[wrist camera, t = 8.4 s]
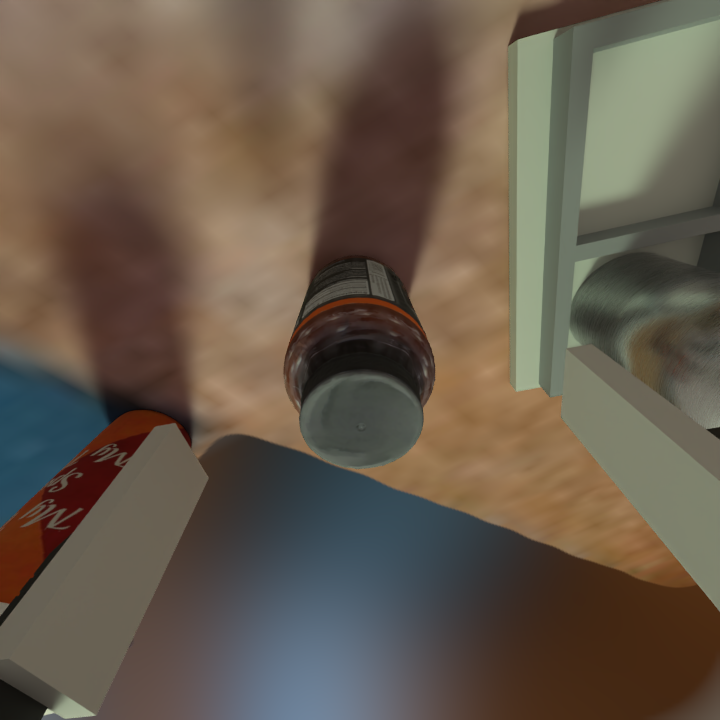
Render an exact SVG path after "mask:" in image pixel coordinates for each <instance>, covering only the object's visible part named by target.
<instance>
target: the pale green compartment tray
mask: <svg viewBox="0 0 720 720" xmlns="http://www.w3.org/2000/svg"><path fill="white" fill-rule="evenodd" d="M508 113H509V289H510V384H511V385H512V387H513V388H514V390H515V391H516V392H517V391H523V390H528V389H533V388H539V387H542V388H543V390H544V391H545V392H546V393H547V394H548V396H549V397H554V396H560V395H563V381H564V368H565V355H566V349H567V348H572V347H577V346H582V345H581V344H580V343H579V342H577V341H576V340H575V338H574V337H573V335H572V334H571V331H570V328H569V324H570V312H571V302H572V300H573V298H574V296H575V294H576V292H577V290H578V289H579V287H580V286H581V285H582V283H583V282H584V281H585V280H586V279H587V278H588V277H589V276H590V275H591V274H592V273H593V272H594V271H595V270H597V269H598V268H599V267H601V266H602V265H604V264H605V263H607V262H609V261H611V260H613V259H614V258H617V257H620V256H622V255H626V254H629V253H635V252H650V253H654V254H658V255H661V256H665V257H668V258H671V259H674V260H678V261H681V262H684V263H688V264H691V265H694V266H697V267H701V268H704V269H707V270H711V271H714V272H717V273H720V0H661V1H657V2H654V3H650V4H646V5H643V6H639V7H635V8H632V9H628V10H624V11H621V12H617V13H613V14H610V15H606V16H602V17H599V18H595V19H591V20H588V21H584V22H580V23H576V24H573V25H569V26H565V27H562V28H558V29H554V30H551V31H547V32H543V33H540V34H536V35H532V36H529V37H525V38H521V39H518V40H516V41H515V42H514V43H512V44H511V45H509V46H508Z"/></svg>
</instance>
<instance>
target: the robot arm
mask: <svg viewBox="0 0 720 720" xmlns="http://www.w3.org/2000/svg"><path fill="white" fill-rule="evenodd" d="M561 418H562V419H563V421H564V422H565V423H566V424H567V426H568V427H569V428H570V429H571V430H572V432H573V433H574V434H575V435H576V436H577V438H578V439H579V440H580V441H581V443H582V444H583V445H584V446H585V447H586V449H587V450H588V451H589V452H590V454H591V455H592V456H593V457H594V458H595V460H596V461H597V462H598V463H599V465H600V466H601V467H602V468H603V469H604V471H605V472H606V473H607V474H608V476H609V477H610V478H611V479H612V480H613V482H614V483H615V484H616V485H617V486H618V488H619V489H620V490H621V491H622V493H623V494H624V495H625V496H626V497H627V499H628V500H629V501H630V502H631V504H632V505H633V506H634V507H635V508H636V510H637V511H638V512H639V513H640V515H641V516H642V517H643V518H644V519H645V521H646V522H647V523H648V524H649V525H650V527H651V528H652V529H653V530H654V532H655V533H656V534H657V535H658V536H659V538H660V539H661V540H662V541H663V543H664V544H665V545H666V546H667V547H668V549H669V550H670V551H671V552H672V554H673V555H674V556H675V557H676V558H677V560H678V561H679V562H680V563H681V565H682V566H683V567H684V568H685V569H686V571H687V572H688V573H689V574H690V575H691V577H692V578H693V579H694V580H695V582H696V583H697V584H698V585H699V586H700V588H701V589H702V590H703V591H704V592H705V594H706V595H707V596H708V597H709V599H710V600H711V601H712V602H713V603H714V605H715V606H716V607H717V608H718V610H719V611H720V427H716V428H710V429H705V428H703V427H702V426H701V425H699V424H698V423H697V422H695V421H694V420H693V419H691V418H690V417H689V416H687V415H686V414H685V413H683V412H682V411H681V410H679V409H678V408H677V407H675V406H674V405H673V404H671V403H670V402H669V401H667V400H666V399H665V398H663V397H662V396H661V395H659V394H658V393H657V392H655V391H654V390H653V389H651V388H650V387H649V386H647V385H646V384H645V383H643V382H642V381H641V380H639V379H638V378H637V377H635V376H634V375H633V374H631V373H630V372H629V371H627V370H626V369H625V368H623V367H622V366H621V365H619V364H618V363H617V362H615V361H614V360H613V359H611V358H610V357H609V356H607V355H606V354H604V353H603V352H602V351H600V350H599V349H598V348H596V347H595V346H594V345H592V344H588V345H582V346H577V347H572V348H567V349H566V355H565V368H564V381H563V395H562V408H561ZM207 480H208V477H207V474H206V473H205V471H204V470H203V468H202V466H201V465H200V463H199V461H198V460H197V458H196V456H195V455H194V453H193V451H192V450H191V448H190V446H189V445H188V443H187V441H186V440H185V438H184V437H183V435H182V433H181V432H180V430H179V428H178V427H177V425H176V423H172V424H167V425H161V426H156V427H154V429H153V430H152V431H151V432H150V434H149V435H148V436H147V438H146V439H145V440H144V441H143V443H142V444H141V445H140V447H139V448H138V449H137V450H136V452H135V453H134V454H133V456H132V457H131V458H130V460H129V461H128V462H127V463H126V465H125V466H124V467H123V469H122V470H121V471H120V472H119V474H118V475H117V476H116V478H115V479H114V480H113V482H112V483H111V484H110V485H109V487H108V488H107V489H106V491H105V492H104V493H103V494H102V496H101V497H100V498H99V500H98V501H97V502H96V504H95V505H94V506H93V507H92V509H91V510H90V511H89V513H88V514H87V515H86V516H85V518H84V519H83V520H82V522H81V523H80V524H79V526H78V527H77V528H76V529H75V531H74V532H73V533H72V534H70V535H69V536H68V537H67V538H66V539H65V540H64V541H63V542H62V543H60V544H59V545H58V546H57V547H56V548H55V549H54V550H53V551H52V552H51V553H50V554H49V555H48V556H47V558H46V559H45V560H44V561H43V563H42V564H41V565H40V566H39V568H38V569H37V570H36V571H35V573H34V577H33V578H30V579H29V580H28V582H27V583H26V584H25V585H24V587H23V588H22V589H21V590H20V594H19V596H16V597H15V598H14V599H13V600H12V602H11V603H10V604H9V606H8V607H7V608H6V609H5V611H4V612H3V613H2V614H1V616H0V720H41V719H42V717H43V715H44V714H45V712H46V710H47V709H49V710H51V711H53V712H54V713H56V714H58V715H59V716H61V717H63V718H64V719H68V718H77V717H87V716H95V715H97V713H98V711H99V709H100V706H101V705H102V703H103V700H104V698H105V696H106V694H107V692H108V690H109V688H110V685H111V683H112V681H113V679H114V677H115V675H116V673H117V671H118V669H119V667H120V664H121V662H122V660H123V658H124V656H125V654H126V652H127V650H128V648H129V645H130V643H131V641H132V639H133V637H134V635H135V633H136V631H137V628H138V626H139V624H140V622H141V620H142V618H143V615H144V614H145V611H146V609H147V607H148V605H149V603H150V601H151V599H152V597H153V595H154V593H155V590H156V588H157V586H158V584H159V582H160V580H161V578H162V576H163V573H164V571H165V569H166V567H167V565H168V563H169V561H170V559H171V557H172V554H173V552H174V550H175V548H176V546H177V544H178V542H179V540H180V538H181V535H182V533H183V531H184V529H185V527H186V525H187V523H188V521H189V518H190V516H191V514H192V512H193V510H194V508H195V506H196V504H197V501H198V499H199V497H200V495H201V493H202V491H203V489H204V486H205V485H206V483H207Z"/></svg>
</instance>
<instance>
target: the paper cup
mask: <svg viewBox="0 0 720 720" xmlns="http://www.w3.org/2000/svg"><path fill="white" fill-rule="evenodd" d="M172 423H176V425H177V427H178V428H179V430H180V432H181V433H182V435H183V437H184V438H185V440H186V441H187V443H188V445H189V446H190V448H191V439H190V436H189V434H188V433H187V431H186V430H185V428H184V427H183V426H182V425H181V424H180V423H179V422H177V421H176V420H174V419H173V418H171V417H169V416H167V415H165V414H163V413H160V412H156V411H152V410H133V411H129V412H127V413H124V414H123V415H121V416H120V417H118V418H117V419H116V420H115V421H114V422H112V423H111V424H110V425H109V426H108V427H107V428H106V429H105V430H103V431H102V432H101V433H100V434H99V435H98V436H97V437H96V438H95V439H94V440H93V441H92V442H91V443H90V444H88V445H87V446H86V447H85V448H84V449H83V450H82V451H81V452H80V453H79V454H78V455H77V456H76V457H75V458H74V459H73V460H72V461H70V462H69V463H68V464H67V465H66V466H65V467H64V468H63V469H62V470H61V471H60V472H59V473H58V474H57V475H56V476H55V477H54V478H53V479H52V480H50V481H49V482H48V483H47V484H46V485H45V486H44V487H43V488H42V489H41V490H40V491H39V492H38V493H37V494H36V495H35V496H34V497H33V498H32V499H31V500H29V501H28V502H27V503H26V504H25V505H24V506H23V507H22V508H21V509H20V510H19V511H18V512H17V513H16V514H15V515H14V516H13V517H12V518H11V519H10V520H9V521H7V522H6V523H5V524H4V525H3V526H2V527H1V528H0V616H1V614H2V613H3V612H4V611H5V609H6V608H7V607H8V606H9V604H10V603H11V602H12V600H13V599H14V598H15V597H16V596H19V594H20V590H21V589H22V588H23V587H24V585H25V584H26V583H27V582H28V580H29V579H30V578H33V577H34V573H35V571H36V570H37V569H38V568H39V566H40V565H41V564H42V563H43V561H44V560H45V559H46V558H47V556H48V555H49V554H50V553H51V552H52V551H53V550H54V549H55V548H56V547H57V546H58V545H59V544H60V543H62V542H63V541H64V540H65V539H66V538H67V537H68V536H69V535H70V534H72V533H73V532H74V531H75V529H76V528H77V527H78V526H79V524H80V523H81V522H82V520H83V519H84V518H85V516H86V515H87V514H88V513H89V511H90V510H91V509H92V507H93V506H94V505H95V504H96V502H97V501H98V500H99V498H100V497H101V496H102V494H103V493H104V492H105V491H106V489H107V488H108V487H109V485H110V484H111V483H112V482H113V480H114V479H115V478H116V476H117V475H118V474H119V472H120V471H121V470H122V469H123V467H124V466H125V465H126V463H127V462H128V461H129V460H130V458H131V457H132V456H133V454H134V453H135V452H136V450H137V449H138V448H139V447H140V445H141V444H142V443H143V441H144V440H145V439H146V438H147V436H148V435H149V434H150V432H151V431H152V430H153V429H154V427H156V426H161V425H167V424H172ZM51 713H54V712H53V711H51V710H49V709H47V710H46V712H45V714H44V715H47V714H51Z"/></svg>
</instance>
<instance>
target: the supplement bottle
mask: <svg viewBox="0 0 720 720" xmlns="http://www.w3.org/2000/svg"><path fill="white" fill-rule="evenodd" d="M434 381H435V363H434V356H433V354H432V349H431V347H430V344H429V342H428V340H427V337H426V334H425V332H424V330H423V328H422V326H421V323H420V321H419V319H418V317H417V315H416V313H415V310H414V308H413V306H412V304H411V301H410V299H409V297H408V294H407V292H406V289H405V288H404V286H403V284H402V282H401V281H400V279H399V277H398V276H397V275H396V274H395V273H394V272H393V270H392V269H391V268H389V267H388V266H387V265H385V264H384V263H382V262H380V261H378V260H375V259H373V258H369V257H365V256H348V257H343V258H340V259H337V260H335V261H333V262H331V263H330V264H328V265H326V266H325V267H324V268H323V269H322V270H321V271H319V272H318V273H317V275H316V276H315V278H314V279H313V281H312V283H311V285H310V286H309V288H308V290H307V293H306V296H305V299H304V302H303V305H302V308H301V310H300V313H299V316H298V319H297V321H296V325H295V328H294V331H293V334H292V337H291V339H290V342H289V346H288V349H287V352H286V356H285V362H284V382H285V387H286V391H287V394H288V396H289V399H290V401H291V402H292V404H293V406H294V407H295V409H296V410H297V411H298V413H299V414H300V417H299V421H300V430H301V433H302V435H303V438H304V440H305V442H306V443H307V445H308V446H309V448H310V449H311V450H313V451H314V452H315V453H316V454H317V455H319V456H320V457H321V458H322V459H324V460H326V461H329V462H331V463H333V464H336V465H339V466H342V467H348V468H354V469H362V468H372V467H377V466H383V465H385V464H388V463H390V462H393V461H395V460H396V459H398V458H400V457H402V456H403V455H405V454H406V453H407V452H408V451H409V450H410V449H411V448H412V447H413V445H414V444H415V443H416V441H417V439H418V438H419V436H420V434H421V431H422V427H423V419H424V418H423V407H424V406H425V404H426V403H427V401H428V399H429V397H430V395H431V393H432V390H433V385H434Z"/></svg>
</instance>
